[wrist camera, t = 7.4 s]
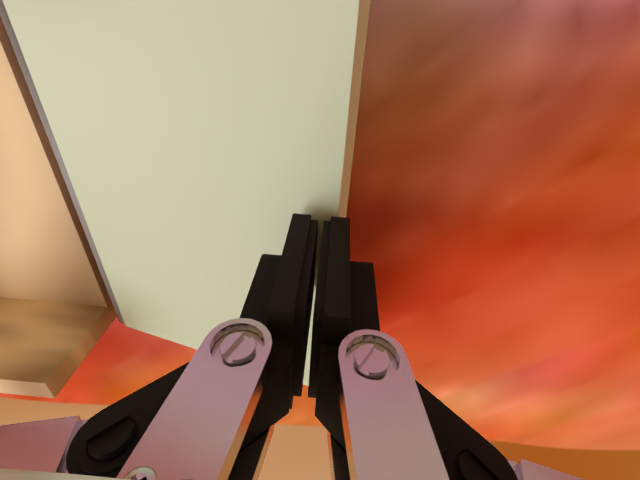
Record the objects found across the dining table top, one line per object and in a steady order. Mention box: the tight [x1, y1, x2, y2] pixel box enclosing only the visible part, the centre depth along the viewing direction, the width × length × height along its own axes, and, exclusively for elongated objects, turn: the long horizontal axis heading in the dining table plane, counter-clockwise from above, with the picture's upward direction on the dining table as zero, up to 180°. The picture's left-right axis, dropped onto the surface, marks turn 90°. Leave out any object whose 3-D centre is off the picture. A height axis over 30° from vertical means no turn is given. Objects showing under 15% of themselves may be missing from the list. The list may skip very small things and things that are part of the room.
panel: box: [0, 0, 371, 386], centre depth 12 cm, size 1×14×11 cm
